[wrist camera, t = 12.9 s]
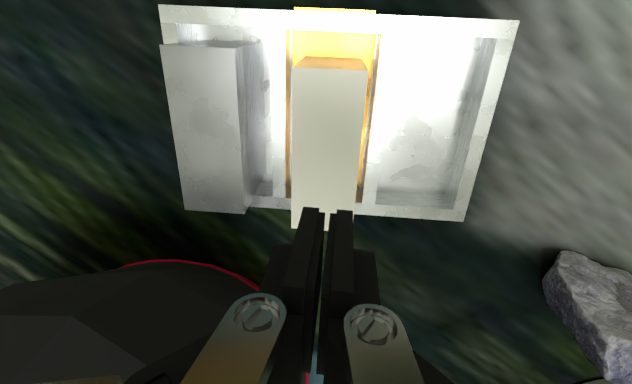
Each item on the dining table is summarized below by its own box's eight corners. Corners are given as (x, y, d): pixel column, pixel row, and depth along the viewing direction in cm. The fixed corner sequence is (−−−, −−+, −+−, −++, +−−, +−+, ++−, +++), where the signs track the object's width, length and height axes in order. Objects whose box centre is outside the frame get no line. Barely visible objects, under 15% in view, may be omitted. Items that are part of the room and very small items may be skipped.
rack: (499, 17, 22) (566, 14, 16) (452, 203, 29) (485, 257, 22) (178, 3, 23) (112, -6, 17) (201, 186, 30) (160, 233, 23)
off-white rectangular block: (361, 58, 24) (368, 70, 17) (349, 186, 28) (352, 232, 22) (305, 56, 24) (291, 67, 18) (302, 183, 28) (291, 228, 22)
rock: (514, 291, 32) (584, 396, 23) (532, 244, 30) (619, 340, 21) (622, 298, 32) (737, 409, 23) (650, 251, 30) (792, 353, 20)
